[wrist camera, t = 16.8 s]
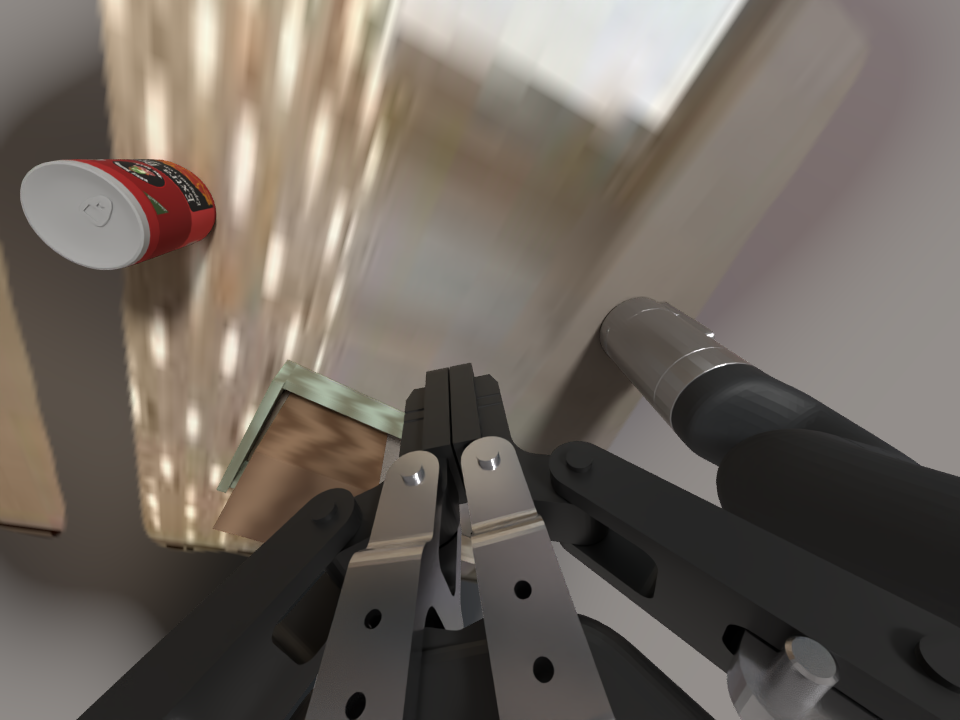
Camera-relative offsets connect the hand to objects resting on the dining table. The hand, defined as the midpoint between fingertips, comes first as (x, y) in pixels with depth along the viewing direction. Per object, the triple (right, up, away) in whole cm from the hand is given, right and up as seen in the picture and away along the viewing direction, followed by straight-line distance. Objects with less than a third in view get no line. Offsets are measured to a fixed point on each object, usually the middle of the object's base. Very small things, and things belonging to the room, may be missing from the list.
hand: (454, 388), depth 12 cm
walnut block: (-22, -11, +41) cm, 48 cm away
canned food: (-30, +17, +24) cm, 42 cm away
